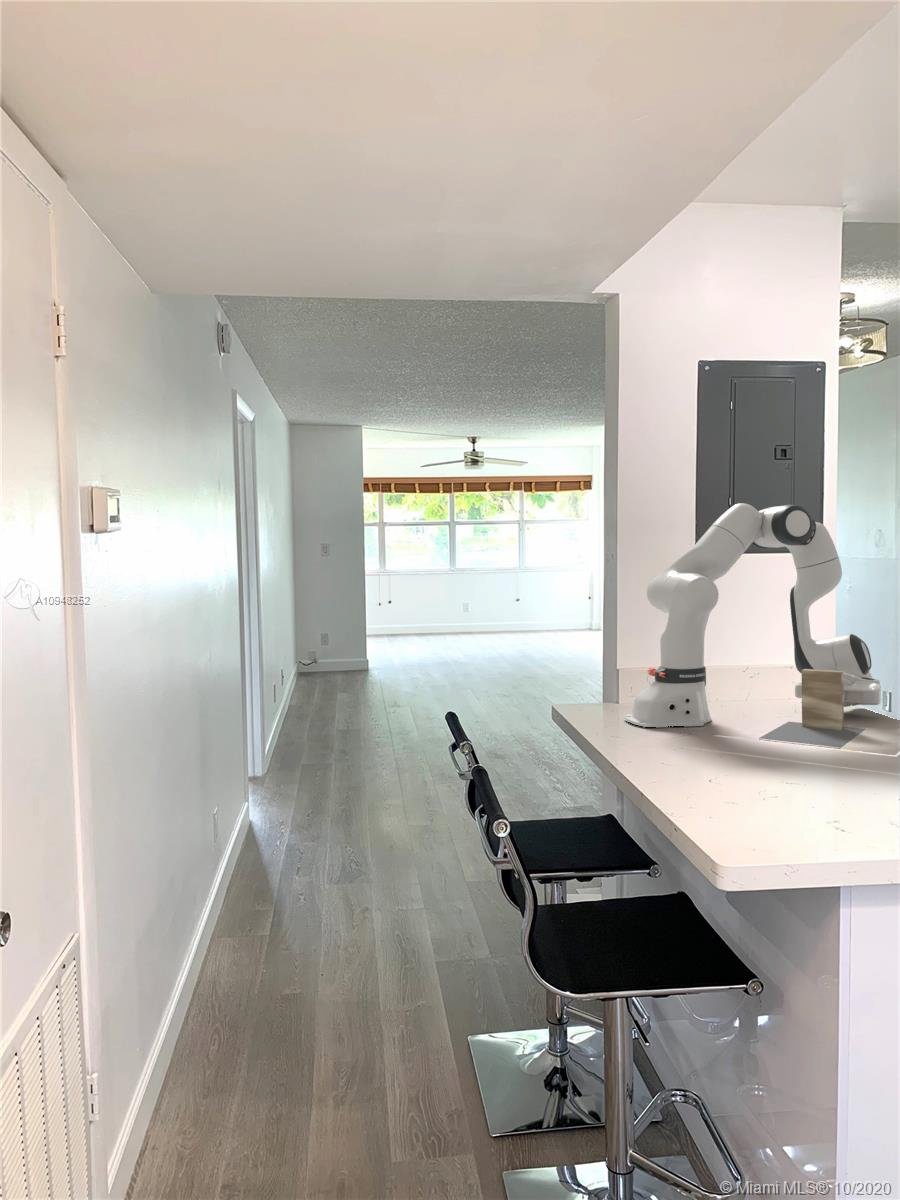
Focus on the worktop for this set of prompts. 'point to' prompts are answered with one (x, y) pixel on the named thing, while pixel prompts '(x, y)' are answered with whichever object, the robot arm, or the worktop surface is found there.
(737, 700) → the worktop surface
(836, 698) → the flat wooden block
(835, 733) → the rubber mat
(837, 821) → the worktop surface
